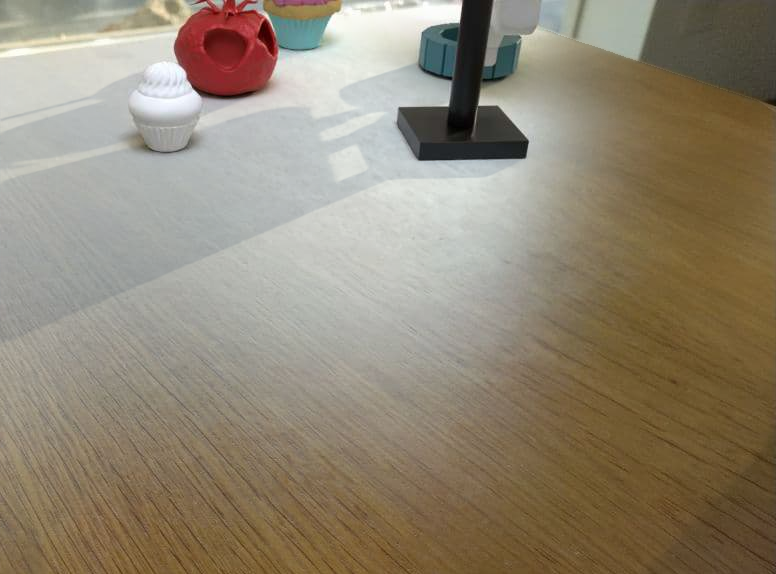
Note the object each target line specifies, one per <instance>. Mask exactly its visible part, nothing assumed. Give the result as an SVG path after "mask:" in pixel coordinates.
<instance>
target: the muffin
mask: <svg viewBox="0 0 776 574" xmlns="http://www.w3.org/2000/svg"><path fill="white" fill-rule="evenodd" d="M192 86H193V85H192V84H191V83H190V82H189V81H188V80H187V79H186V72H185V71H184V69H183V68H182V67H180V66H179V64H178V63H175V62H171V61H170V62H169V61H168V62H167V61H165V60H163V61H160V62H155V63H151V64H150V65H149V66H147V67H146V68H145V69H144V70H143V74H142V80H141V82H140V83H139V85H138V86H137V89H135V90H134V91H133V92H132V93H131V94H130V96H129V98H128V102H127V106H128V111H129V113H130V115H131V116H132V121H133V123H134V124H135V126H136V128H137V130H138V132H139V133H140V135H141V137H142V138H143V140H144V142H145V144H146V146H147V148H148V149H150V150H153V151H155V152H160V153H162V152H164V153H166V152H167V153H170V152H172V153H173V152H176V151H177V152H178V151H181V150H183V149H184V148H185V147H187V145H188V143H189V141H190V139H191V137H192V135H193V133H194V130H195V128H196V126H197V125H198V122H199V121H200V115H201V113H202V112H201V111H202V109H203V99H202V97H201V96H200V94H199V93H198V92H197V91H196V90H195V89H194V88H193V87H192Z"/></svg>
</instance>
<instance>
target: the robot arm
mask: <svg viewBox="0 0 776 574" xmlns="http://www.w3.org/2000/svg"><path fill="white" fill-rule="evenodd" d="M462 1H463V0H460V2H462ZM542 1H543V0H494V2H493V9H492V15H491V22H490V29H489V36H488V43H487V49H486V56H485V63H484V66H493V65H494V64H495V63H496V59H497V52H498V47H499V46H500V43H501V41H502V39H503V37H504V35H520V36H529V35H532V34H534V32H535V31H536V29H537V27H538V24H539V21H540V17H541V12H542V11H541V10H542V3H543V2H542Z"/></svg>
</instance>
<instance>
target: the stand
mask: <svg viewBox="0 0 776 574" xmlns="http://www.w3.org/2000/svg"><path fill="white" fill-rule="evenodd" d="M493 2H494V0H463V1H461V11H460V16H459V17H460V19H459V23H460V24H459V32H458V40H457V47H456V55H455V63H454V71H453V77H451V78H452V80H451V85H450V95H449V102H448V105H442V106H440V105H439V106H438V105H437V106H435V105H434V106H398V108H397V116H396V117H397V118H396V124H397V126H398V128H399V129H400V131H401V133H402V134H403V136H404V138H405V140H406V141H407V143H408V145H409V146H410V149H411V150H412V151H413V153H414V155H415V157H416V159H417V160H418V161H439V160H441V161H443V160H444V161H445V160H486V159H487V160H491V159H493V160H494V159H526V158H527V154H528V151H529V150H528V149H529V144H530V140H529V138H527V136H526V135H525V134H524V133H523V132H522V131H521V130H520V129H519V127H518V126H517V125H516V124H515V123H514V122H513V121H512V119H511V118H510V117H509V116H508V115H507V114H506V113H505V112H504V111H503V109H502V108H501V107H500V106H499V105H497V104H496V105H479V103H480V97H481V91H482V83H483V79H482V77H483V70H484V63H485V56H486V49H487V43H488V36H489V29H490V22H491V15H492V9H493Z"/></svg>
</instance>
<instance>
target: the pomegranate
mask: <svg viewBox="0 0 776 574" xmlns="http://www.w3.org/2000/svg"><path fill="white" fill-rule="evenodd" d="M205 2H206V4H207V5H208V6H203V7H202V8H201V9H199V11H197V12H195V13H193V14H191V15H190V17H188V18H187V20H186V21H185V23H184V24H183V25H181V26H180V28H179V29H178V33H177V36H176V38H175V40H174V44H173V52H174V56H175V58H176V61H177V65H179V66H180V67H182V68H183V69H184V71H185V72H186V79H187V81H188V82H189V83H190V84H191V86H193V87H194V88H196V89H198V90H200V91H203V92H204V93H208V94H213V95H217V96H236V95H241V94H244V93H249V92H255V91H259V90H260V89H262V88H264V87H265V86H266V85H267V84H268V82H269V81H270V79H271V78H272V76H273V74H274V71H275V69H276V65H277V62H278V57H279V45H278V43H277V39H276V35H275V31H274V28H273V25H272V23H271V20H270V19H268V18H267V17H266V16H265V15H264V14H262V13H259V12H258V10H257V9H248V10H244V8H245V7H246V6H247V5H250V4H251V5H252V4H253V5H255V4H257V3H258V2H259V0H243V1H241V3H239V4H236V0H222V3H223V5H222V7H221V8H220V7H218V6H217V5H216V4H215V3H213V2H212V1H211V0H198V1H196V2H194V3H189V5H190V6H194V5H198V4H201V3H205Z"/></svg>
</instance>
